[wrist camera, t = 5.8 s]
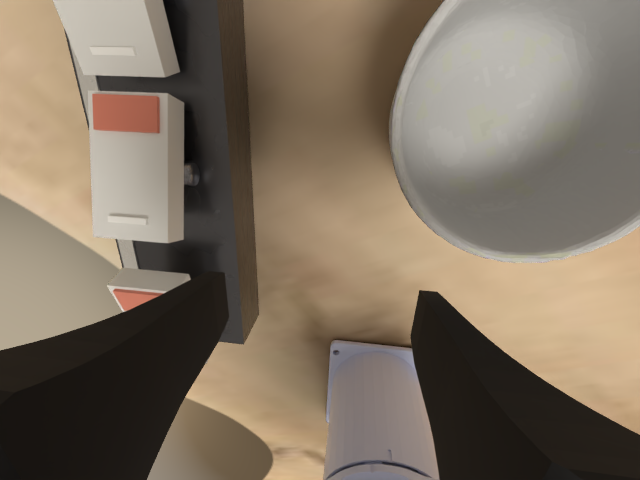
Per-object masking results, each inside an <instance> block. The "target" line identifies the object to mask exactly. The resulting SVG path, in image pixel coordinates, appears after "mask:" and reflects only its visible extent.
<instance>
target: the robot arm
mask: <svg viewBox="0 0 640 480" xmlns="http://www.w3.org/2000/svg"><path fill="white" fill-rule="evenodd" d="M228 319H229V310H228V300H227V291H226V281H225V273H224V272H213V271H208V272H206V273H203V274H201V275H199V276H197V277H195V278H193V279H191V280H189V281H187V282H185V283H183V284H181V285H179V286H177V287H175V288H173V289H171V290H170V291H168V292H166V293H164V294H162V295H160V296H158V297H155V298H153V299H151V300H149V301H147V302H145V303H143V304H141V305H138V306H136V307H134V308H132V309H130V310H127V311H125V312H123V313H120V314H118V315H116V316H113V317H110V318H108V319H105V320H102V321H100V322H97V323H94V324H92V325H88V326H86V327H82V328H79V329H76V330H73V331H70V332H67V333H64V334H61V335H58V336H55V337H51V338H48V339H44V340H40V341H37V342H33V343H29V344H25V345H21V346H17V347H13V348H9V349H5V350H1V351H0V480H147V478H148V475H149V473H150V470H151V468H152V466H153V463H154V461H155V459H156V457H157V454H158V452H159V450H160V448H161V446H162V443H163V441H164V439H165V437H166V435H167V432H168V430H169V428H170V426H171V424H172V422H173V420H174V418H175V416H176V414H177V411H178V410H179V407H180V405H181V404H182V402H183V400H184V398H185V396H186V395H187V393H188V391H189V389H190V388H191V386H192V384H193V383H194V381H195V380H196V378H197V376H198V375H199V373H200V371H201V370H202V368H203V366H204V365H205V363H206V362H207V360H208V358H209V357H210V355H211V353H212V352H213V350H214V348H215V346H216V345H217V343H218V341H219V340H220V337H221V335H222V333H223V331H224V328H225V326H226V323H227V321H228ZM411 344H412V348H404V347H395V346H386V345H378V344H369V343H360V342H351V341H342V340H334V341H332V342H331V347H330V362H329V378H328V394H327V410H326V422H327V423H329V425H328V435H327V445H326V455H325V465H324V475H323V480H640V435H639V434H637V433H635V432H633V431H631V430H629V429H627V428H625V427H623V426H621V425H620V424H618V423H616V422H614V421H612V420H610V419H609V418H607V417H605V416H603V415H601V414H599V413H597V412H596V411H594V410H592V409H590V408H589V407H587V406H585V405H583V404H582V403H580V402H578V401H576V400H575V399H573V398H571V397H570V396H568V395H567V394H565V393H563V392H562V391H560V390H559V389H557V388H555V387H554V386H552V385H551V384H549V383H547V382H546V381H544V380H543V379H541V378H540V377H538V376H537V375H535V374H534V373H532V372H531V371H530V370H528V369H527V368H525V367H524V366H523V365H521V364H520V363H518V362H517V361H516V360H514V359H513V358H511V357H510V356H509V355H508V354H506V353H505V352H504V351H502V350H501V349H500V348H499V347H498V346H496V345H495V344H494V343H493V342H491V341H490V340H489V339H488V338H487V337H485V336H484V335H483V334H482V333H481V332H480V331H479V330H477V329H476V328H475V327H474V326H473V325H472V324H471V323H470V322H469V321H468V320H466V319H465V318H464V317H463V316H462V315H461V314H460V313H459V312H458V311H457V310H456V309H455V308H454V307H453V306H452V305H451V304H450V303H449V302H448V301H447V300H446V299H444V298H443V297H442V296H441V295H440V294H439V293H438V292H432V291H422V290H419V295H418V301H417V306H416V311H415V316H414V321H413V326H412V331H411ZM335 350H337V351H338V352H335ZM430 427H431V428H430ZM432 436H433V437H432Z"/></svg>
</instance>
